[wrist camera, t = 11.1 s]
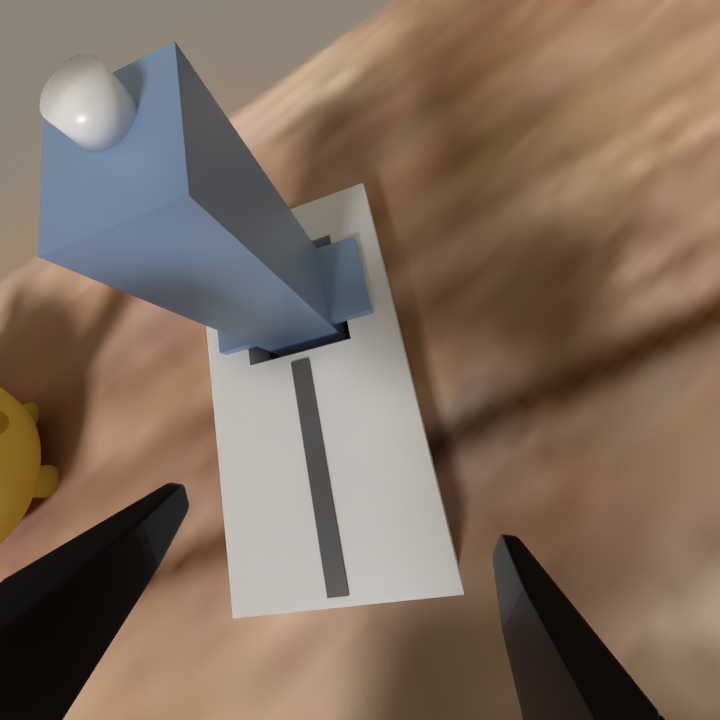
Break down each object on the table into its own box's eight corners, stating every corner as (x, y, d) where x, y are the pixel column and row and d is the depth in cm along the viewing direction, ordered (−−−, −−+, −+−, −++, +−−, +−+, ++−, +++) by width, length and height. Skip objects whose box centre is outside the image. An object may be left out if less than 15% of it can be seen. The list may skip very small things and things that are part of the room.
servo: (381, 329, 18) (262, 120, 5) (252, 365, 20) (-81, 268, 7) (365, 261, 19) (232, -50, 6) (243, 300, 21) (-59, 111, 8)
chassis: (459, 566, 15) (464, 596, 12) (261, 590, 17) (231, 619, 14) (371, 211, 20) (362, 181, 17) (224, 261, 22) (197, 241, 19)
